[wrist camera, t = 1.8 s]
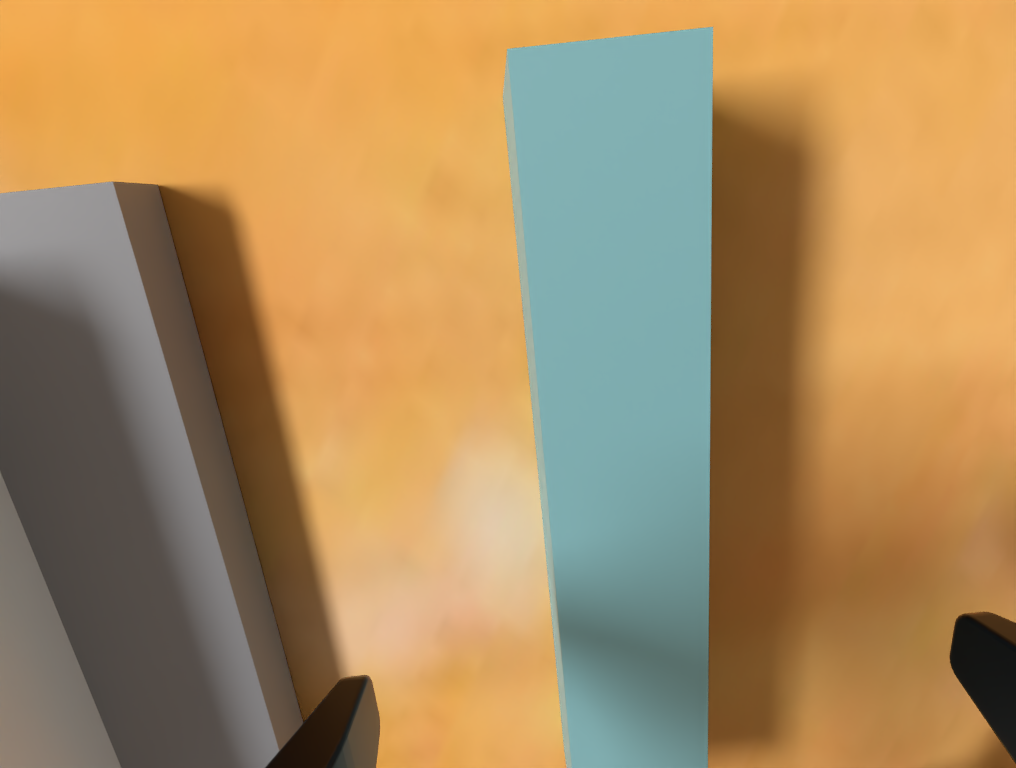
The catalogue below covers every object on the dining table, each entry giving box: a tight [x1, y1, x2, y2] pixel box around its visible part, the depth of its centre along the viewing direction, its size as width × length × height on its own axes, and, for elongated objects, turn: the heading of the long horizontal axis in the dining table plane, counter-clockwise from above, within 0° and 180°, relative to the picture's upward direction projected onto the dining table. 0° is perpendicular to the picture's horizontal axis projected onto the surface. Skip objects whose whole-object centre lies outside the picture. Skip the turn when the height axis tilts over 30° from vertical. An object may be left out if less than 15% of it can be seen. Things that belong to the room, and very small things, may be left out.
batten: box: [503, 27, 713, 768], centre depth 13 cm, size 18×3×4 cm, turn 6°
